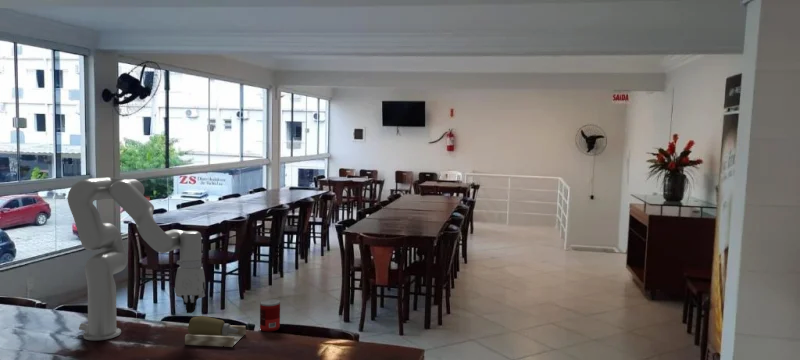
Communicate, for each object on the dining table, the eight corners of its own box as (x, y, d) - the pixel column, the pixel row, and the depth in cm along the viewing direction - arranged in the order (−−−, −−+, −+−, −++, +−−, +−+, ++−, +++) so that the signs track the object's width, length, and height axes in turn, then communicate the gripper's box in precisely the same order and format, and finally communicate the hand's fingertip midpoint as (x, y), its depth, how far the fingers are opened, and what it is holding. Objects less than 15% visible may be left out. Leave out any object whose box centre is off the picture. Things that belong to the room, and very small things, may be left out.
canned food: (283, 327, 223) (283, 300, 222) (272, 333, 215) (273, 305, 215) (267, 324, 225) (267, 298, 225) (256, 330, 218) (256, 303, 217)
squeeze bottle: (184, 337, 202) (232, 343, 202) (188, 314, 204) (236, 320, 204) (192, 335, 210) (238, 341, 210) (196, 314, 212) (242, 319, 212)
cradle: (185, 344, 200) (185, 335, 200) (200, 332, 213) (200, 323, 213) (233, 346, 199) (233, 337, 199) (245, 334, 212) (245, 325, 212)
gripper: (166, 265, 202) (166, 314, 203) (205, 266, 201) (205, 316, 202) (176, 261, 210) (176, 308, 211) (214, 262, 209) (213, 310, 210)
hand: (190, 312), depth 206 cm, fingers closed
